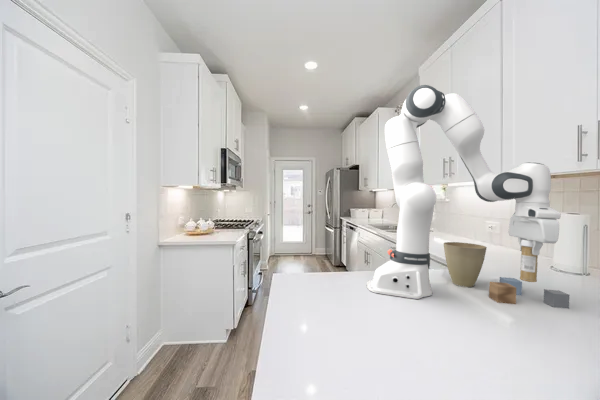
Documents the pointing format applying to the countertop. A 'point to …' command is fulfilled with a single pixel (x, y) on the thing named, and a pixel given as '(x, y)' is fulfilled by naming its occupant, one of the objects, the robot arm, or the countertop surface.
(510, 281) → the slate blue block
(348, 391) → the countertop surface
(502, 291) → the walnut block
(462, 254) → the plant pot
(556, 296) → the charcoal block
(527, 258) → the sprinkles bottle
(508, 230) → the robot arm
